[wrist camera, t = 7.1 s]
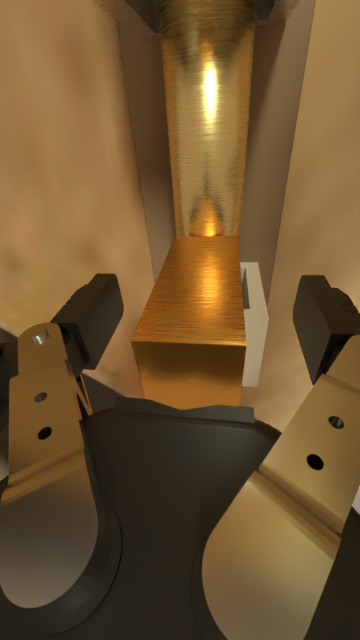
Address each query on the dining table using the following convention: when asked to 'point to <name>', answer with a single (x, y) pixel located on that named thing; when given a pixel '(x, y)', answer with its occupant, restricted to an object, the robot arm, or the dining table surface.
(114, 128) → the dining table surface
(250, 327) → the socket
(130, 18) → the grey block
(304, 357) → the robot arm
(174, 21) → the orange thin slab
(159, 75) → the base board
